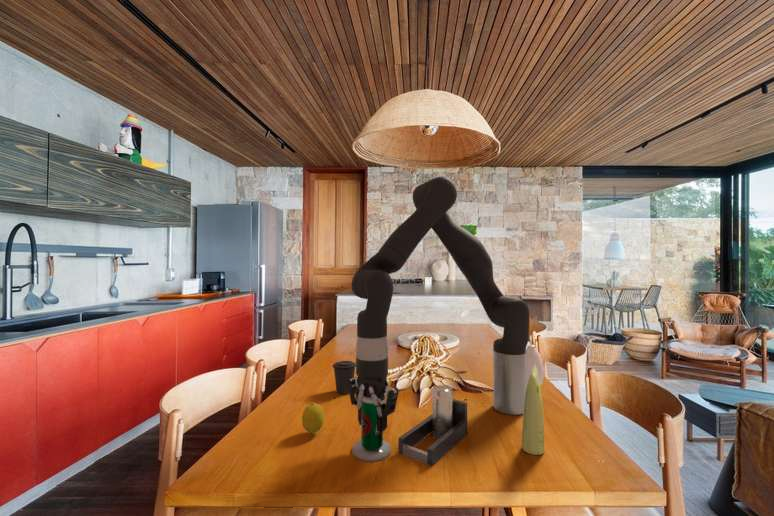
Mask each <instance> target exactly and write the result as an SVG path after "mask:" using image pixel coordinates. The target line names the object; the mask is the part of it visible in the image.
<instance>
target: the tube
mask: <svg viewBox="0 0 774 516" xmlns="http://www.w3.org/2000/svg"><path fill="white" fill-rule="evenodd" d="M543 406H544V405H543V397H542V389H541V386H540V381H539V376H538V371H537V368H536V363H535V365H534V367H533V370H532V373H531V375H530V377H529V380H528V384H527V389H526V395H525V402H524V412H523V414H522V416H523V417H522V428H521V429H522V432H521V435H522V436H521V449H522V450H523V451H524V452H526V453H527V454H530V455H532V456H533V455H534V456H540V455H543V454H544V453H545V428H544V427H545V426H544V425H545V424H544V423H545V422H544V421H545V420H544V407H543Z"/></svg>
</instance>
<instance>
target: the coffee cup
mask: <svg viewBox="0 0 774 516" xmlns="http://www.w3.org/2000/svg"><path fill="white" fill-rule="evenodd" d="M332 368H333V370H334V371H333V372H334V380H335V381H334V382H335V390H336V394H338V395H343V396H345V395H350V393H349V387H348V380H349V379H351V378H354V377H355V374H356V362H354V361H351V360H340V361H337V362H334V363H333V364H332Z"/></svg>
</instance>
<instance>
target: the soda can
mask: <svg viewBox="0 0 774 516" xmlns="http://www.w3.org/2000/svg"><path fill="white" fill-rule="evenodd" d="M381 400H382V397H381V398H380V399H378V401H381ZM381 407H382V405H381ZM382 409H383V408H382ZM378 416H379V415H378V412H377V407H375V406H374V403H373V399H372V397H370V396H366V395H365V396H364V395H363V398H362V400H361V425H360V426H361V427H360V428H361V430H360V433H361V435H360V436H361V438H360V439H361V445H362V446H363V448H364V449H366V450H369V451H375V450H378V449H380V448H381V447H382V445H383V440H384V431H383V432H378Z"/></svg>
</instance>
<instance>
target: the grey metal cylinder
mask: <svg viewBox="0 0 774 516" xmlns="http://www.w3.org/2000/svg"><path fill="white" fill-rule="evenodd" d="M453 390H454V389H453V388H452V387H451V386H449V385H443V384H442V385H441V384H440V385H434V386H433V387H432V414H433V432H432V438H433V437H434V438H435V439H434V438H433V439H434V440H435V441H437V440H438V439H439V438H441V437H442V436H443V435H444V434H445V433H447V432H448V431H449V430H450V429H451V428H453V399H454V398H453V397H454V396H453V392H454V391H453Z"/></svg>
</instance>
